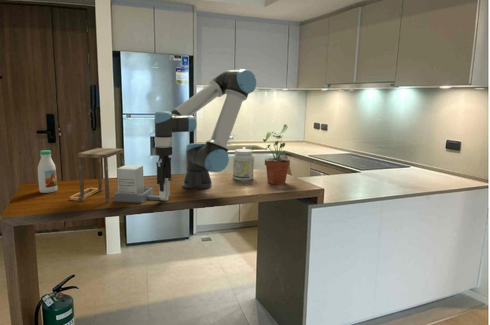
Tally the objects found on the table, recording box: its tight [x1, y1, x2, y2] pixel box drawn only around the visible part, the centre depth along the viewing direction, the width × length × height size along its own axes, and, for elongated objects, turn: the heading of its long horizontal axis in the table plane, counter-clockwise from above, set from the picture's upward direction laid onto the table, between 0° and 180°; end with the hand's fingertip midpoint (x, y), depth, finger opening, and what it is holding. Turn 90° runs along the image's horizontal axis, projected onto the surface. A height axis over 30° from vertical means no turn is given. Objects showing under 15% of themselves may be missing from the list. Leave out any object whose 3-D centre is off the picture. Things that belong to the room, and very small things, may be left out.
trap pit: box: [68, 187, 100, 202], centre depth 168 cm, size 5×17×1 cm, turn 174°
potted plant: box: [262, 124, 291, 186], centre depth 198 cm, size 16×15×35 cm
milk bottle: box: [37, 149, 58, 194], centre depth 171 cm, size 8×8×20 cm
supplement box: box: [116, 164, 145, 195], centre depth 163 cm, size 9×9×15 cm
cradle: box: [113, 178, 170, 204], centre depth 164 cm, size 22×13×10 cm, turn 84°
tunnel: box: [77, 147, 125, 203], centre depth 165 cm, size 13×18×22 cm
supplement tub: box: [232, 148, 255, 182], centre depth 208 cm, size 12×12×17 cm
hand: (164, 196), depth 163 cm, fingers open, 5 cm apart
